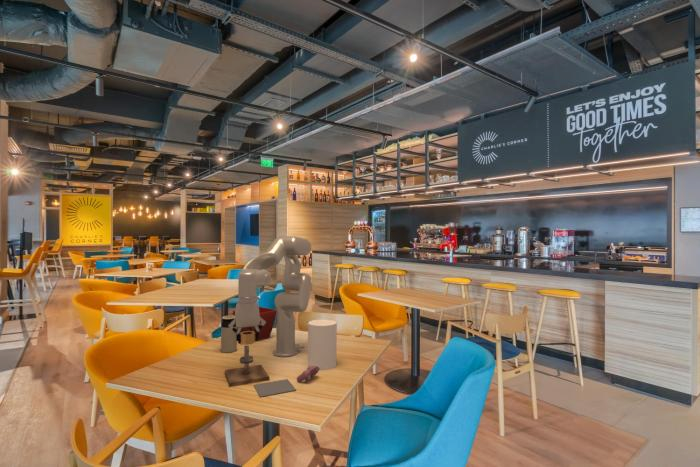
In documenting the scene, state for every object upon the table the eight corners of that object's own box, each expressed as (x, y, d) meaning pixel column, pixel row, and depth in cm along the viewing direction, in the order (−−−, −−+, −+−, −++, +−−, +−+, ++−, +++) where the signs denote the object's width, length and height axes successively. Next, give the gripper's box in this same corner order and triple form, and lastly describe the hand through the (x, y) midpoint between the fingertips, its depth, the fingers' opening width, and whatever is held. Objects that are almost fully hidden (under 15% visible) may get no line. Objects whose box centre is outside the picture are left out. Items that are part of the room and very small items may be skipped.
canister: (341, 366, 165) (341, 323, 166) (314, 371, 159) (315, 327, 159) (328, 358, 177) (329, 318, 178) (303, 362, 171) (303, 321, 171)
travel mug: (233, 353, 185) (234, 318, 185) (218, 353, 185) (219, 318, 185) (238, 348, 193) (239, 315, 193) (224, 348, 193) (224, 315, 193)
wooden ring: (253, 339, 158) (253, 330, 158) (256, 343, 152) (256, 334, 152) (238, 341, 155) (238, 332, 155) (241, 345, 149) (241, 335, 149)
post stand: (261, 367, 163) (261, 339, 164) (269, 380, 149) (269, 349, 149) (224, 373, 156) (225, 343, 157) (229, 386, 142) (229, 354, 142)
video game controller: (302, 387, 146) (308, 373, 144) (294, 380, 148) (301, 366, 146) (316, 379, 154) (323, 366, 153) (309, 373, 156) (315, 360, 155)
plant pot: (231, 338, 212) (231, 310, 212) (258, 332, 227) (258, 306, 227) (249, 344, 200) (250, 314, 200) (277, 338, 214) (277, 310, 215)
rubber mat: (287, 379, 149) (287, 379, 149) (296, 390, 139) (296, 389, 139) (253, 385, 143) (253, 384, 143) (260, 397, 132) (260, 396, 132)
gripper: (265, 297, 161) (265, 336, 161) (225, 300, 153) (225, 341, 153) (269, 299, 154) (269, 341, 154) (227, 303, 146) (227, 346, 146)
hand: (247, 341), depth 154 cm, fingers closed on wooden ring, 6 cm apart
